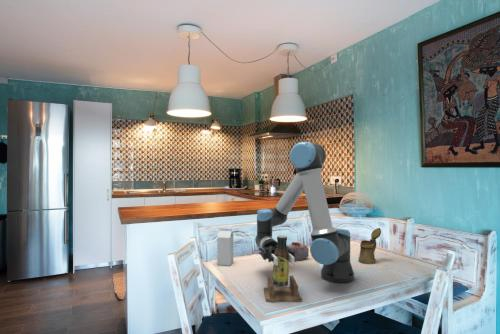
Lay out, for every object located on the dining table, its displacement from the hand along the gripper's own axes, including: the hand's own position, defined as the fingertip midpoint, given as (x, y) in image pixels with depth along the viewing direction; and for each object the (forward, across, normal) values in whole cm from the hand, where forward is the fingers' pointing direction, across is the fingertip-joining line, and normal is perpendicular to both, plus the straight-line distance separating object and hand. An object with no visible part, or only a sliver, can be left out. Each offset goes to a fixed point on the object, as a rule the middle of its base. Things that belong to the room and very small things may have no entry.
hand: (285, 261), depth 126 cm
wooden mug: (-40, -62, -15) cm, 75 cm away
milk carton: (-52, +17, -16) cm, 57 cm away
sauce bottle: (-5, 0, -11) cm, 12 cm away
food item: (-52, -23, -16) cm, 59 cm away
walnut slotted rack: (-5, 0, -15) cm, 16 cm away
